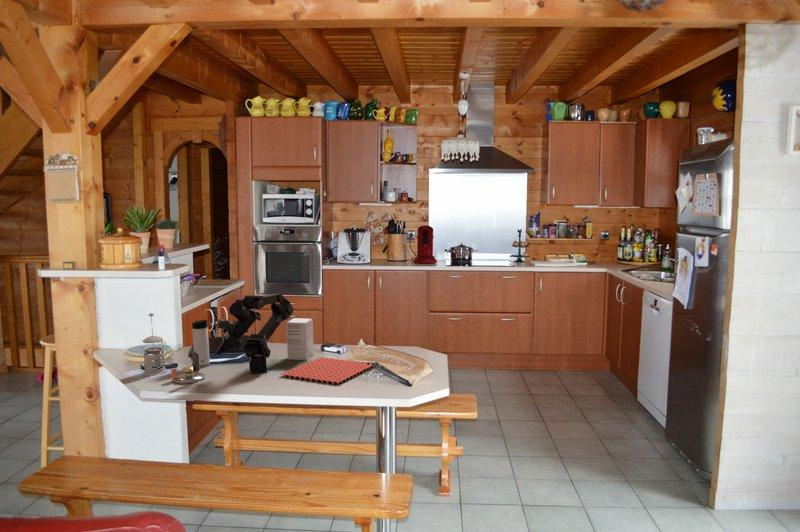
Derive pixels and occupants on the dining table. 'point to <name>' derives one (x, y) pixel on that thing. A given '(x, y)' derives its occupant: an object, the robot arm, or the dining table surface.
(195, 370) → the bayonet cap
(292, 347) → the supplement box
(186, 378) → the post base
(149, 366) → the french press
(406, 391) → the dining table surface
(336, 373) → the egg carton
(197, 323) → the travel mug
